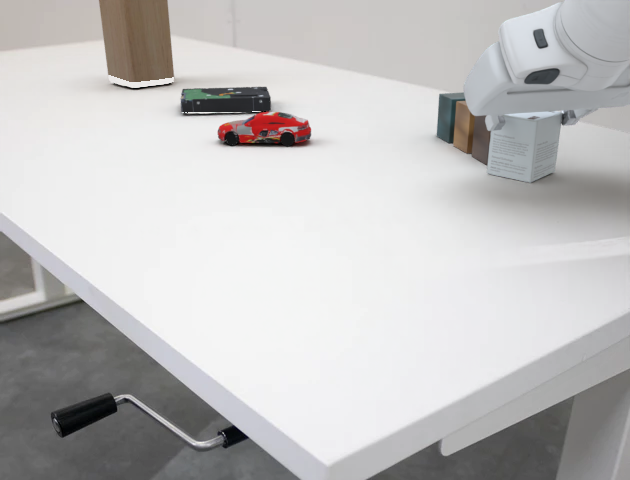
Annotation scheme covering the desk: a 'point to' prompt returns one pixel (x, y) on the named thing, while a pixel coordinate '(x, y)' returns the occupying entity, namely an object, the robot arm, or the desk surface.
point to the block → (137, 39)
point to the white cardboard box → (525, 146)
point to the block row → (462, 126)
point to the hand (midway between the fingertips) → (529, 123)
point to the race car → (266, 129)
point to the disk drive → (225, 99)
